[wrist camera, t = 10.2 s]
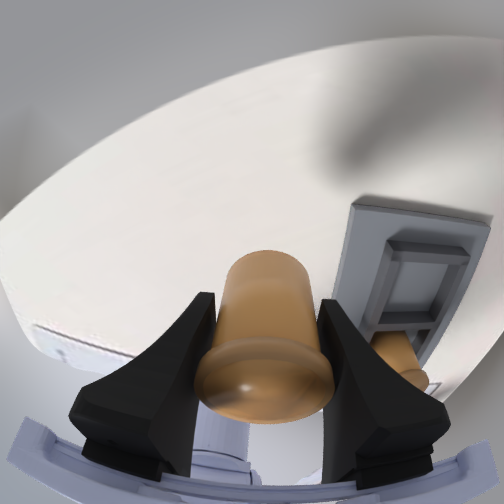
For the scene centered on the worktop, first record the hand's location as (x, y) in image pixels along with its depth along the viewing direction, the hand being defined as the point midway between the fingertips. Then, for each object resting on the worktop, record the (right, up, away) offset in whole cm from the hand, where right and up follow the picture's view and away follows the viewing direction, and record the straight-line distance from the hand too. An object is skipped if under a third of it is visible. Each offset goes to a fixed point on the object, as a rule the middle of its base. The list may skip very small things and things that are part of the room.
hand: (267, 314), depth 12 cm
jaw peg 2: (+12, -6, +12) cm, 17 cm away
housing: (+12, -2, +11) cm, 16 cm away
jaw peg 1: (0, +1, +2) cm, 2 cm away
